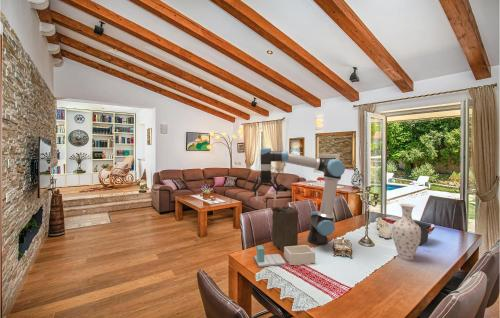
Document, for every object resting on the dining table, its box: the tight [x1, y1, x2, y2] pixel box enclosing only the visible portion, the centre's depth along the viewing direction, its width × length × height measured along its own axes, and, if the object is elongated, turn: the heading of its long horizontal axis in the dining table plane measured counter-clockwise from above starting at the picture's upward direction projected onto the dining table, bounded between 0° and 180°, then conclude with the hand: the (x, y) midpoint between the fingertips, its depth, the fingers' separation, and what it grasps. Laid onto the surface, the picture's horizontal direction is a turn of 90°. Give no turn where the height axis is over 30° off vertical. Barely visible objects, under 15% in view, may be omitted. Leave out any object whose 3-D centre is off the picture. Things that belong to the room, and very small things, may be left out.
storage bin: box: [413, 220, 433, 246], centre depth 186 cm, size 21×16×14 cm
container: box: [271, 205, 299, 254], centre depth 173 cm, size 23×10×30 cm, turn 22°
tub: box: [283, 244, 316, 266], centre depth 154 cm, size 16×12×7 cm
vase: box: [391, 203, 421, 261], centre depth 159 cm, size 16×16×35 cm
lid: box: [253, 244, 287, 267], centre depth 152 cm, size 17×13×9 cm
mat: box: [252, 256, 286, 269], centre depth 152 cm, size 18×14×1 cm
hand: (265, 200), depth 171 cm, fingers open, 13 cm apart
